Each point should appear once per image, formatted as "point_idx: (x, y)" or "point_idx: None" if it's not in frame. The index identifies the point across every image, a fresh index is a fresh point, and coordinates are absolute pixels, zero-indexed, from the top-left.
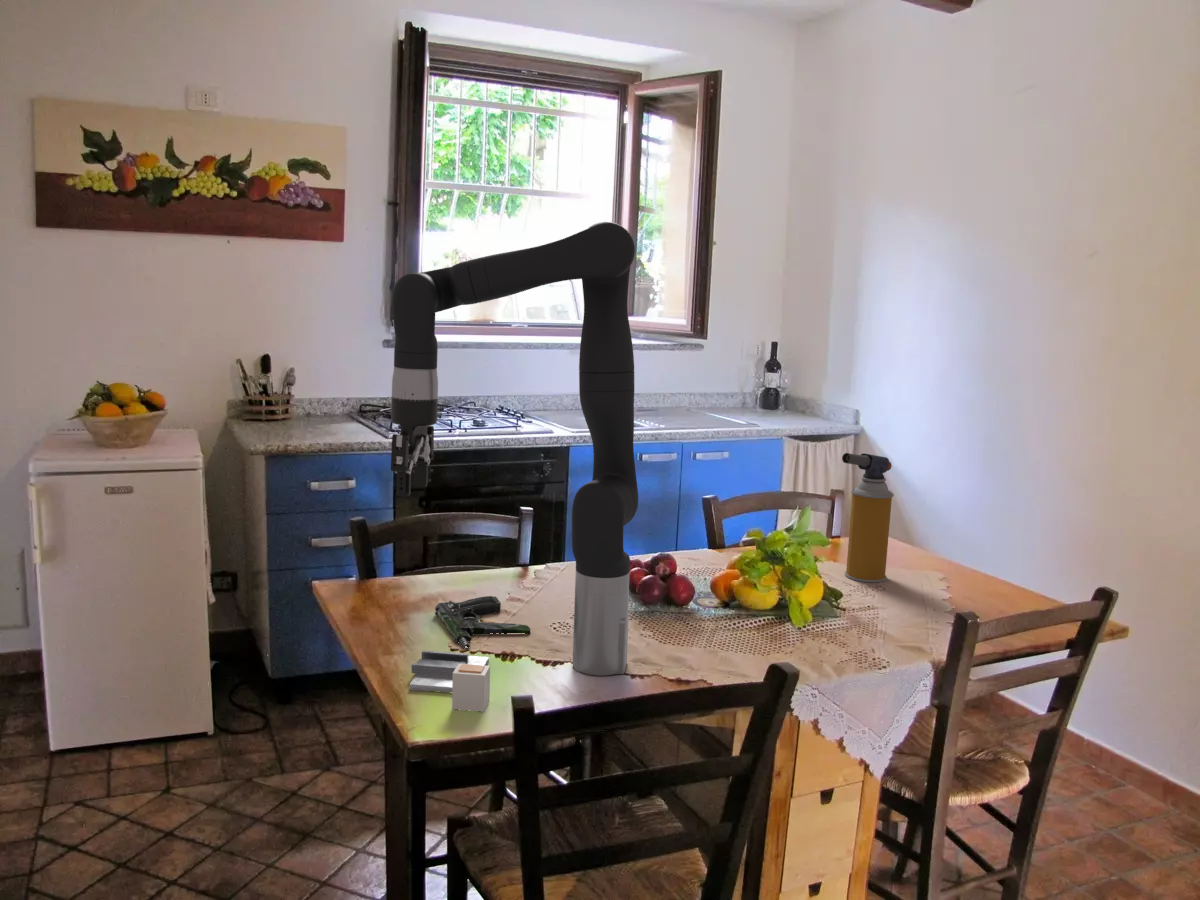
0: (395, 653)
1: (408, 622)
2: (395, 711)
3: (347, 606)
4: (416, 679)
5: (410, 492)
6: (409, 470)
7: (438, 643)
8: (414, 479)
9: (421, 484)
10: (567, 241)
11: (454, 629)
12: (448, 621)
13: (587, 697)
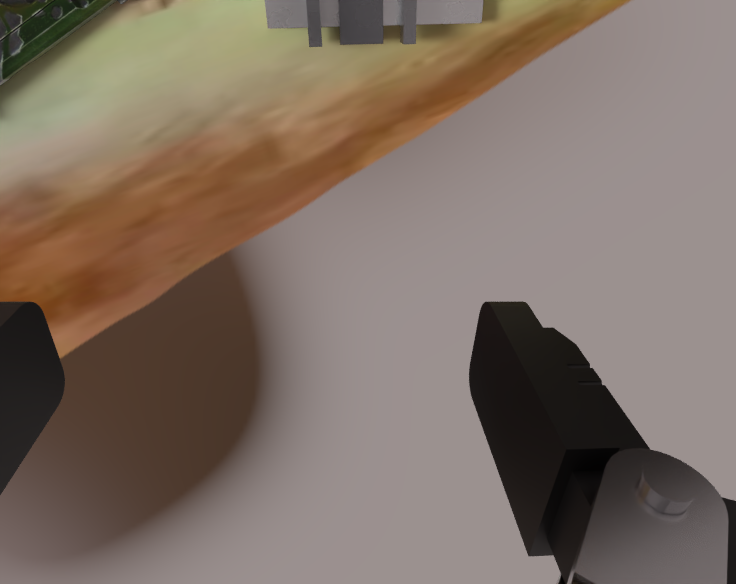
0: (265, 134)
1: (49, 175)
2: (594, 15)
3: None
4: (451, 14)
5: (494, 309)
6: (689, 496)
7: (157, 44)
8: (36, 433)
9: (37, 346)
10: None
11: (81, 11)
12: (31, 51)
13: None
